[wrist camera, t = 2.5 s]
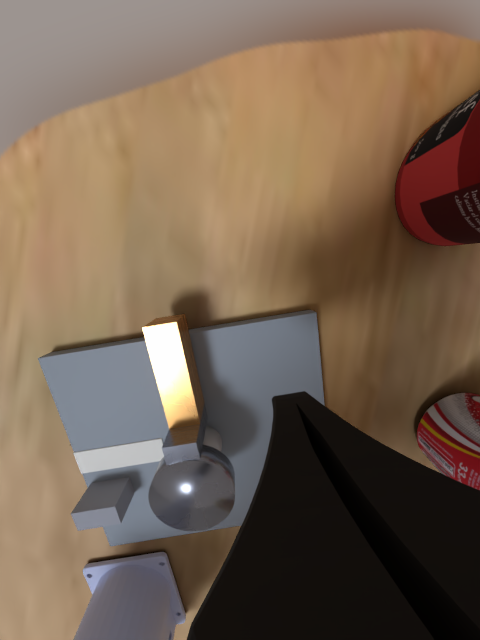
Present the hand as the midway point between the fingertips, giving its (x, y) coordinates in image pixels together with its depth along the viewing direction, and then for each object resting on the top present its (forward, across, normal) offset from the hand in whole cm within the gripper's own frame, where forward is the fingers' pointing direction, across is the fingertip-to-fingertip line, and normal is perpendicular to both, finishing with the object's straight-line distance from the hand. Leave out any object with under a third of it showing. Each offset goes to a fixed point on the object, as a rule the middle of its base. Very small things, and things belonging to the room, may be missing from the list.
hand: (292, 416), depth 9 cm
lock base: (+9, +6, +7) cm, 13 cm away
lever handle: (+8, +6, +3) cm, 10 cm away
